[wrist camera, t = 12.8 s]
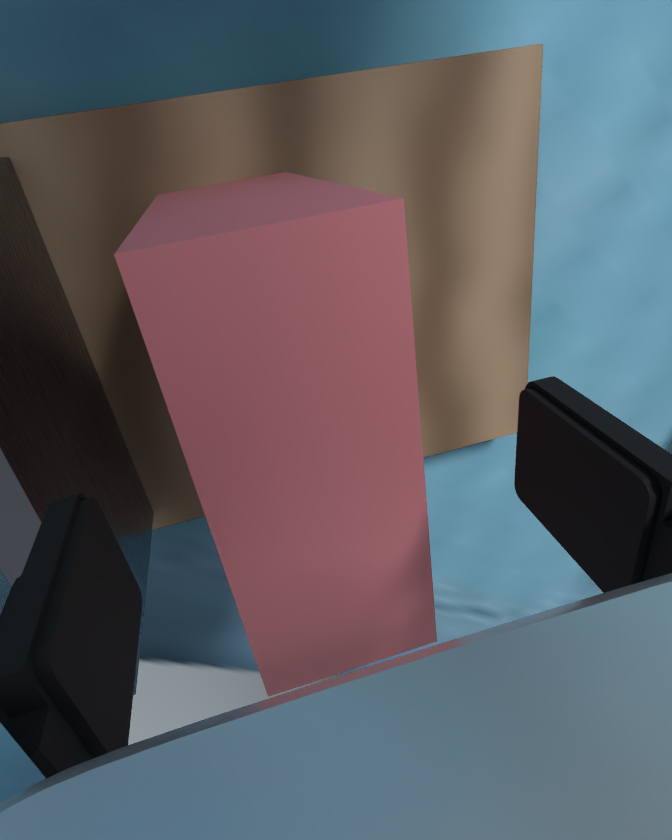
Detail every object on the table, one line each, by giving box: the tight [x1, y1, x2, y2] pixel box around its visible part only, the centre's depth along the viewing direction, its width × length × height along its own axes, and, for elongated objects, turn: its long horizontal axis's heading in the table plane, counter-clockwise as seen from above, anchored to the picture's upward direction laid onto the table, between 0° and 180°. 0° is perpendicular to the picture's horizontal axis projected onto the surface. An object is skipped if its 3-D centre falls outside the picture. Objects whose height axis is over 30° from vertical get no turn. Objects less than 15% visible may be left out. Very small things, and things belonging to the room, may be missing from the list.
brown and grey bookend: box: [0, 44, 543, 695], centre depth 20 cm, size 22×18×12 cm
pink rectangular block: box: [114, 172, 437, 696], centre depth 17 cm, size 5×12×13 cm, turn 8°
